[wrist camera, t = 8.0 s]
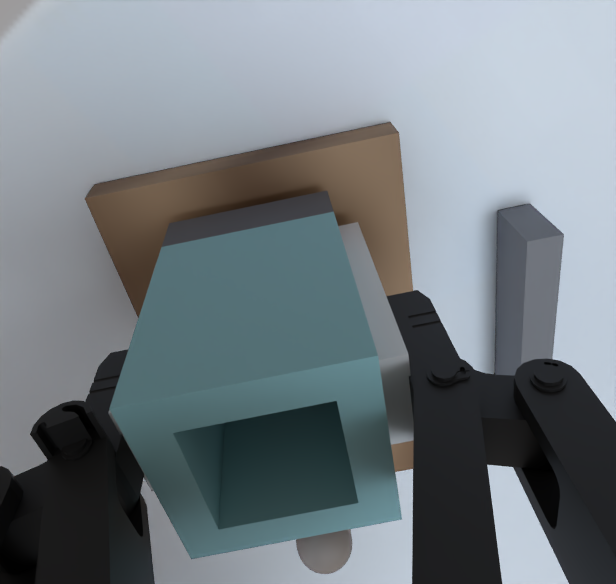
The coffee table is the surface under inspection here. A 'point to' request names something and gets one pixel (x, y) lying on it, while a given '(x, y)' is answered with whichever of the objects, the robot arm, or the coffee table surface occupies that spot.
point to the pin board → (259, 190)
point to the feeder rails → (526, 287)
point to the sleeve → (258, 382)
